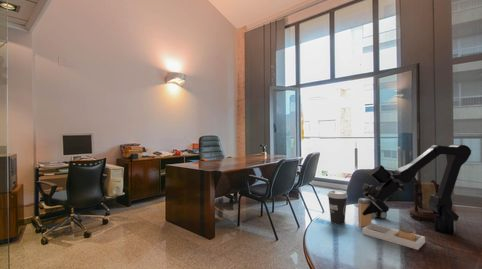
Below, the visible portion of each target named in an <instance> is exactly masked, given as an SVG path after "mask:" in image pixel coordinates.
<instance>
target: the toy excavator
mask: <svg viewBox="0 0 482 269" xmlns="http://www.w3.org/2000/svg"><path fill="white" fill-rule="evenodd" d="M384 203H385V204H386V201H385V202H384ZM387 213H388V212H386V213H385V212H384V211H382V209H381V212H375V213H371V220H373V219H376V218H377V217H379V219H383V220H385V219H387V217H388V214H387Z"/></svg>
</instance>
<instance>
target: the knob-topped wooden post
mask: <svg viewBox="0 0 482 269" xmlns="http://www.w3.org/2000/svg"><path fill="white" fill-rule="evenodd" d="M369 200H370V199H366V198H364V197H360V198H358V201H357V209H358V210H357V211H358V212H357V213H358V214H357V215H358V216H357V218H358V220H357V221H358V226H359V227H366V226H367V225H369V224H371V223H372V220H373V219H371V214H368V215H363V214H362V213H363V212H364V211H365V209H366V208H367V207H368V206H369Z"/></svg>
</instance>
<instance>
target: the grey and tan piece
mask: <svg viewBox="0 0 482 269" xmlns="http://www.w3.org/2000/svg"><path fill="white" fill-rule="evenodd" d="M398 228H399V229H397V230H398V231H399V237H400V238H403V239H407V240H411V241H414V242H416V235H417V234H416V228H415V226H412V225H410V224H399V227H398Z"/></svg>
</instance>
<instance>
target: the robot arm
mask: <svg viewBox="0 0 482 269" xmlns="http://www.w3.org/2000/svg"><path fill="white" fill-rule="evenodd" d="M440 155H445V158H446V166H445V168H444V172H443V174H442V178H441V181H440V183H439V185H440V186H439V187H438V188H439V190H438V192H437V194H435V195H430V200H429V201H428V203H429V207H430V209H431V210H432V211H433V213H434V214H435V215H437V216H436V218H435V219H434V221H433V222H434V224H433V226H434V231H436V232H438V233H444V234H448V235H452V236H453V235H455V234H456V233H457V230H456V222H457V221H458V220H459V218H460V217H459V214H457V213H456V212H455V211H454V210H453V205H454V204H453V201H452V195H453V193H454V190H455V187H456V182H457V180H458V177H459V175H460V171H461V167H462V165H464V164H465V163H466V162H467V161H469V158H470V156H471V155H472V149H470V147H469V146H468V145H465V144H451V145H439V144H433V145H430V147H429V148H427V149H426V150H425V151H424V152H423V153H422V154H420V155H419V156H417V157H416V158H415V159H413V160H412V161H411V162H410V163H408V164H405V165H404V166H400V167H399V168H396V169H395V170H394V171H388V170H387V169H386V168H385V167H384V166H383V165H382V164H379V165H378V166H376V167H374V168H372V169H371V170H370V172H369V175H370V176H371V177H372V178H373V179H374V180H375V181H376V182H377V183H378V184H382V185H381V186H379V185H378V186H375V185H373V184H368V183H365V182H364V183H363V184H362V186H361V190H362V191H363V193H362V194H363V198H366V199H370V200H369V206H368V207H367V208H366V209H365V211H364V212H363V213H362V214H363V215H368V214H371V213H375V212H381V209H382V211H384V212H385V213H388V212H389V210H390V207H389V206H388V205H387V204H386V201H387V200H391V199H392V198H393V197H392V196H393V195H394V194H395V193H396V192H397V191H398V190H400V191H403V192H405V191H406V190H405V189H406V188H405V184H409V183H411V182H412V181H413V180H414V179H415V178H416V177H417V173H418V172H419V171H421V170H422V169H423V168H424V167H426V166H427V165H428V164H430V163H431V162H432V161H433V160H435V159H436V158H438V157H439V156H440ZM401 183H403V184H401ZM384 202H385V203H384Z"/></svg>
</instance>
